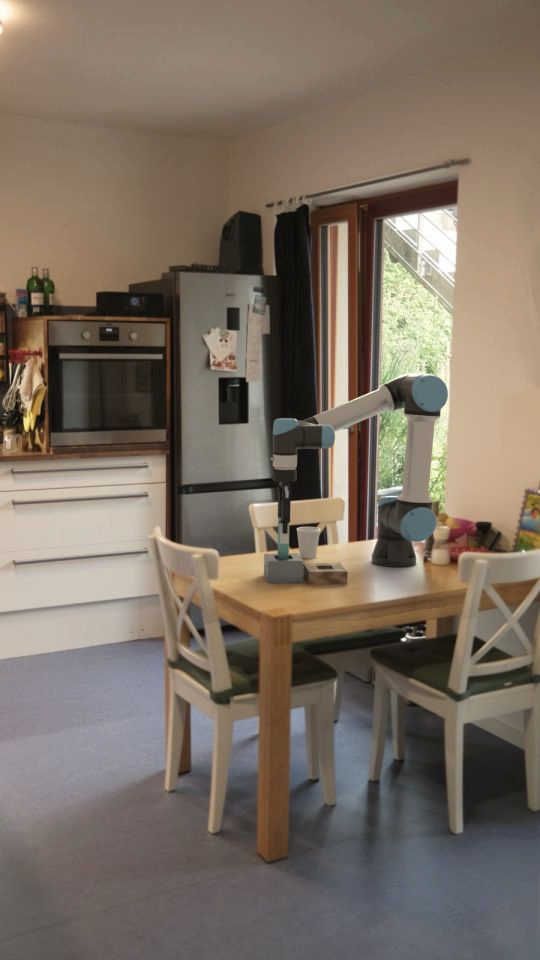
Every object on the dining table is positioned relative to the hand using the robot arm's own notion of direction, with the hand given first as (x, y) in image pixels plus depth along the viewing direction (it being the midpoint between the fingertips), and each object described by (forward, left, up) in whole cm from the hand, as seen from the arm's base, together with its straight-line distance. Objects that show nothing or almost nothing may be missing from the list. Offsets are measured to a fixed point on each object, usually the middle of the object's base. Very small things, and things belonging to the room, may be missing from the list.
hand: (283, 541), depth 308 cm
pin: (0, 0, -7) cm, 7 cm away
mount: (-13, +2, -12) cm, 18 cm away
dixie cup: (-13, -32, -12) cm, 36 cm away
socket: (0, 0, -12) cm, 12 cm away
